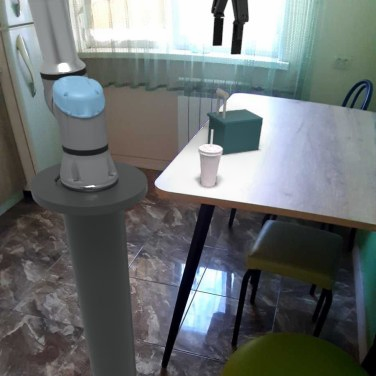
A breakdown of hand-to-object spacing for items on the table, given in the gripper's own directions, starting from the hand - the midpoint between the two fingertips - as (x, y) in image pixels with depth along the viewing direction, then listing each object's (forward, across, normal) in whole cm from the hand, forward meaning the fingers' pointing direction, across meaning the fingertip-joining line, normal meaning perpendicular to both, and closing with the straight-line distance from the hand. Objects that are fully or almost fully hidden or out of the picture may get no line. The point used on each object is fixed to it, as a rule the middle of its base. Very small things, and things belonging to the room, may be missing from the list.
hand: (226, 50), depth 116 cm
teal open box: (+27, +1, -6) cm, 28 cm away
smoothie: (+27, -25, +13) cm, 39 cm away
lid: (+18, +1, -5) cm, 19 cm away
